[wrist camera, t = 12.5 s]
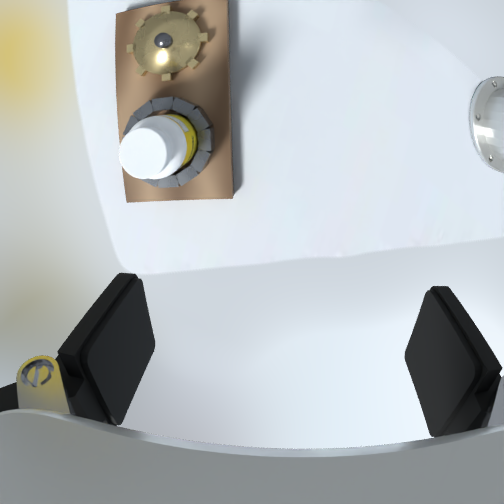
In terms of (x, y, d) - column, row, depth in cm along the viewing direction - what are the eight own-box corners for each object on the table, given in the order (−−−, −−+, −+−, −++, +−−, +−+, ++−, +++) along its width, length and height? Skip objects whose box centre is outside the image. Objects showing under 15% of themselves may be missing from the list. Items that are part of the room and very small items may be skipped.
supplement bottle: (181, 174, 32) (149, 202, 23) (141, 145, 31) (97, 162, 22) (212, 133, 30) (190, 145, 22) (171, 103, 29) (133, 103, 20)
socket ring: (213, 94, 29) (208, 93, 26) (216, 179, 32) (212, 185, 30) (129, 103, 29) (120, 104, 27) (136, 184, 33) (127, 189, 31)
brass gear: (208, 3, 24) (205, -4, 22) (210, 77, 28) (206, 74, 26) (130, 16, 25) (122, 11, 23) (131, 86, 28) (123, 86, 26)
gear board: (228, -1, 25) (226, -5, 24) (233, 194, 35) (232, 198, 33) (121, 16, 26) (116, 13, 24) (131, 198, 35) (126, 202, 34)
